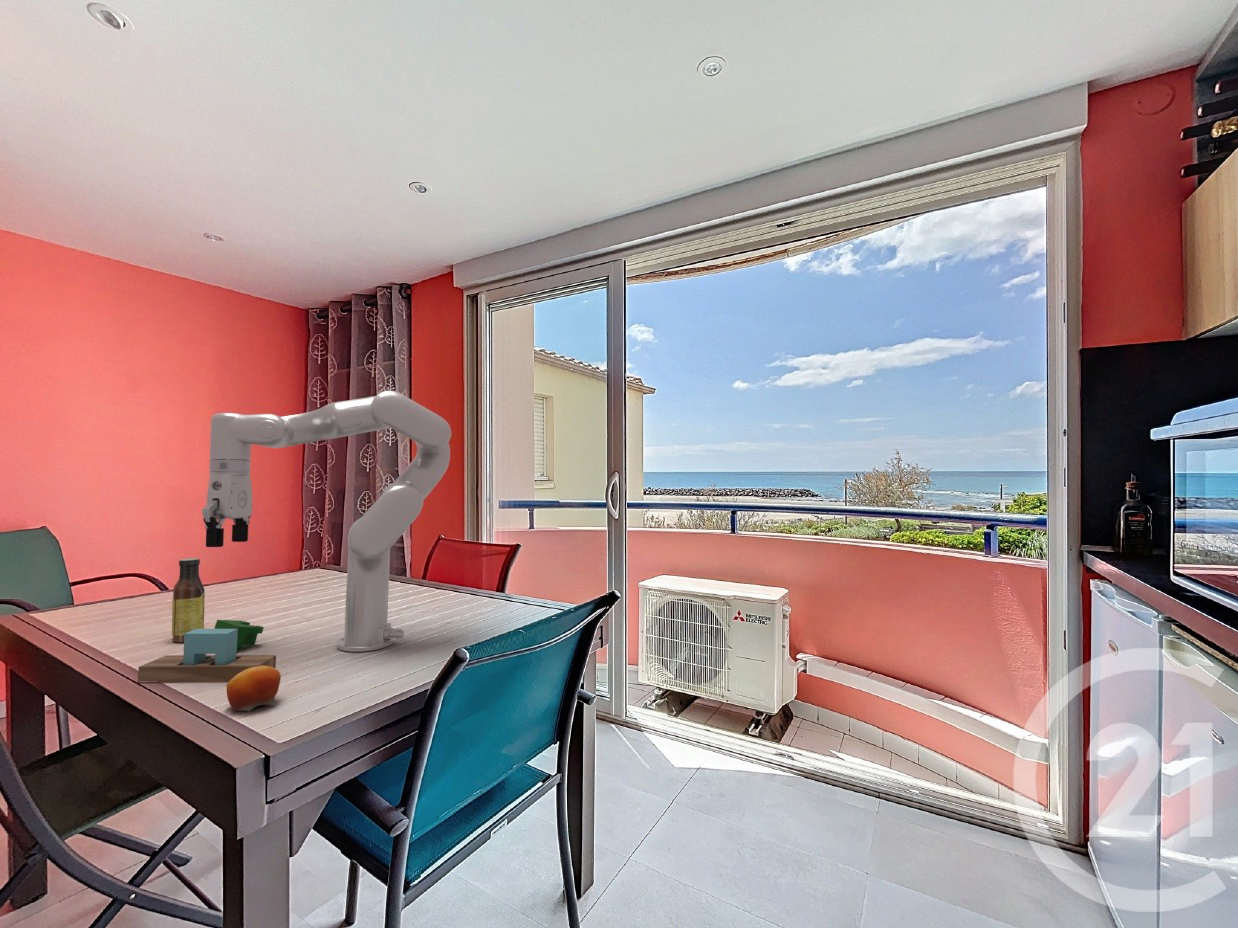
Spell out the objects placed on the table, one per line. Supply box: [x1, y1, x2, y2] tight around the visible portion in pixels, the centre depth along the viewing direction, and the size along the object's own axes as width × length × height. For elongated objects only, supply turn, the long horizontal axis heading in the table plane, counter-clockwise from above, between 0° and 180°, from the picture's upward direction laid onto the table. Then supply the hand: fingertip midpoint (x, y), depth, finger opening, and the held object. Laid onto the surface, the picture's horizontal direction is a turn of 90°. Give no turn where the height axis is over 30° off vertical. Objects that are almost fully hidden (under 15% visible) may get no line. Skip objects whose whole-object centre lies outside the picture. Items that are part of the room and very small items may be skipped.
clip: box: [183, 628, 238, 665], centre depth 110 cm, size 4×8×9 cm, turn 95°
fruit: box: [226, 666, 282, 713], centre depth 96 cm, size 8×8×8 cm
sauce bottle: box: [171, 557, 206, 644], centre depth 133 cm, size 6×6×20 cm
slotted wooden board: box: [137, 654, 277, 683], centre depth 110 cm, size 7×22×3 cm, turn 95°
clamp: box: [213, 619, 265, 652], centre depth 130 cm, size 12×6×9 cm, turn 52°
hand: (227, 544), depth 121 cm, fingers open, 9 cm apart
